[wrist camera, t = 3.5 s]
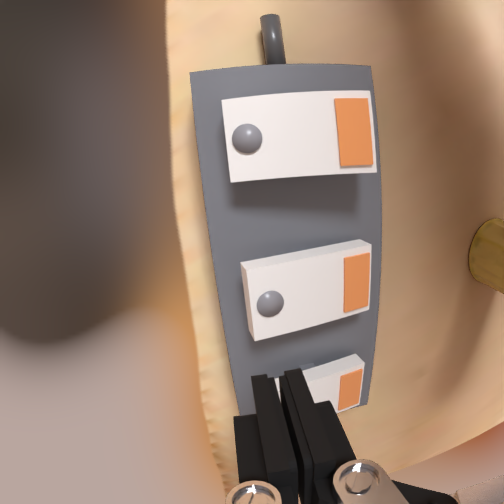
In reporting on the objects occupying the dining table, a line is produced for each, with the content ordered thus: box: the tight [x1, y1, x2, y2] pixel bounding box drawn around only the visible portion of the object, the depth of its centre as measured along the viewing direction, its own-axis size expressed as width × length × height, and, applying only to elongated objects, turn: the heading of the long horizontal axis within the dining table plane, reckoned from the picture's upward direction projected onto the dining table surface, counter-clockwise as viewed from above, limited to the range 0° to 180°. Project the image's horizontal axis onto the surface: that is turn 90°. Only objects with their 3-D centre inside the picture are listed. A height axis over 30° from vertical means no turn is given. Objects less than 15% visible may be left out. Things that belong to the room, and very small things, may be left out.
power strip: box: [190, 14, 382, 416], centre depth 20 cm, size 28×10×4 cm, turn 6°
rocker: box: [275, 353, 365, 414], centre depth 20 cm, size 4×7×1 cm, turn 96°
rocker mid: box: [240, 239, 371, 341], centre depth 17 cm, size 4×7×1 cm, turn 96°
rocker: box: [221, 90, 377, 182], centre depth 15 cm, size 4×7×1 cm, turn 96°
